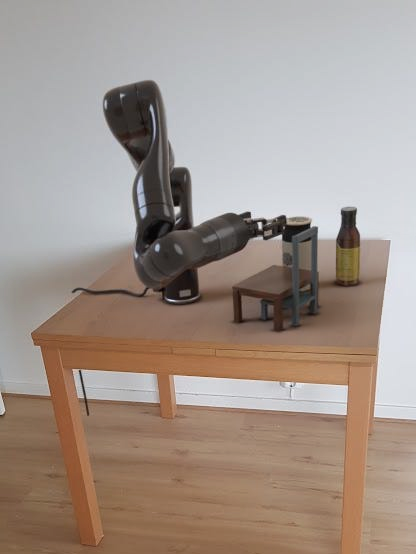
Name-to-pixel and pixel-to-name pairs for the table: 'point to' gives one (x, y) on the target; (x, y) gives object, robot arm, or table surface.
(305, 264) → the travel mug
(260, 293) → the walnut table
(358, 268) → the sauce bottle
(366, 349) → the table surface
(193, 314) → the table surface
